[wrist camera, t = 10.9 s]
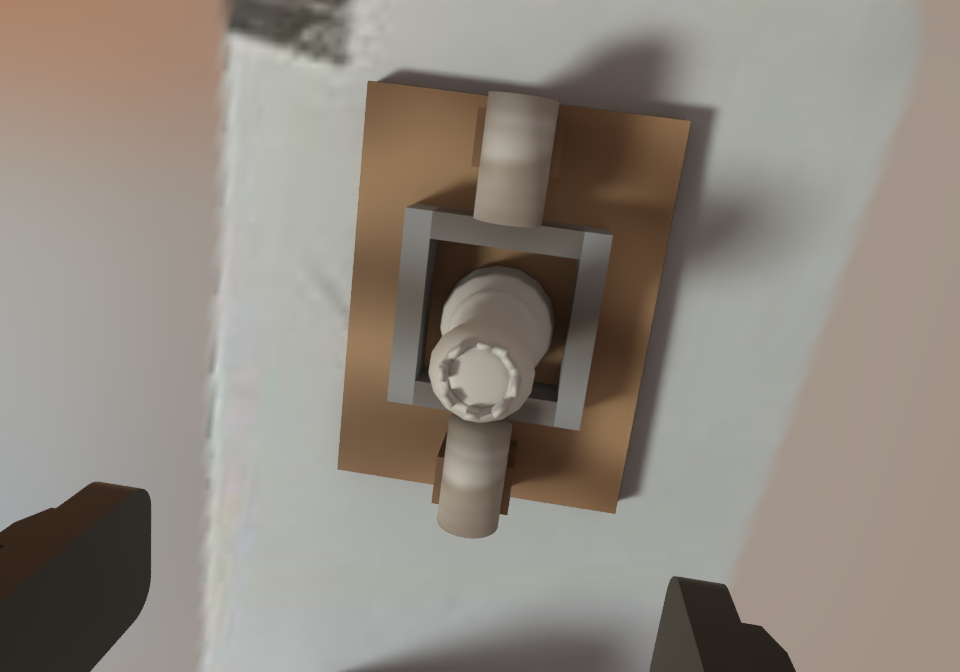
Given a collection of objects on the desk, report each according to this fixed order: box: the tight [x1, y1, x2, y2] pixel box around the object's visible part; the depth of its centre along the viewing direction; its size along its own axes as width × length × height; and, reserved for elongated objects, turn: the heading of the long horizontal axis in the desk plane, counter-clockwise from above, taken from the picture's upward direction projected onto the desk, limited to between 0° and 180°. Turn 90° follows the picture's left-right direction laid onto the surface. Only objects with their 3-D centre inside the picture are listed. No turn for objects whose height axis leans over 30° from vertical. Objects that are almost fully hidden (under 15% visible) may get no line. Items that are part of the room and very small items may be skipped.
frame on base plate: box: [338, 81, 691, 538], centre depth 28 cm, size 16×12×5 cm
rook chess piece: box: [429, 266, 555, 423], centre depth 25 cm, size 4×4×8 cm
